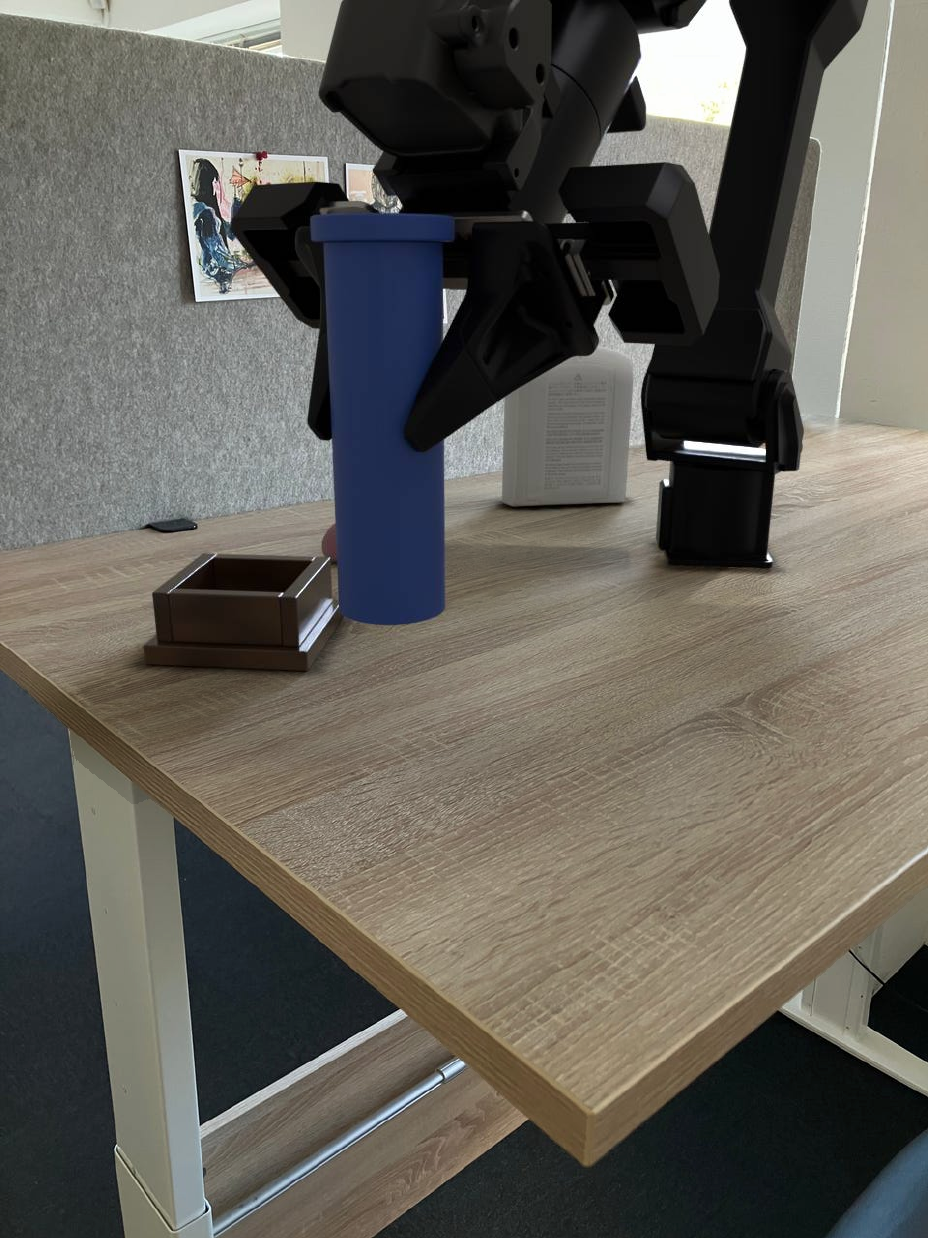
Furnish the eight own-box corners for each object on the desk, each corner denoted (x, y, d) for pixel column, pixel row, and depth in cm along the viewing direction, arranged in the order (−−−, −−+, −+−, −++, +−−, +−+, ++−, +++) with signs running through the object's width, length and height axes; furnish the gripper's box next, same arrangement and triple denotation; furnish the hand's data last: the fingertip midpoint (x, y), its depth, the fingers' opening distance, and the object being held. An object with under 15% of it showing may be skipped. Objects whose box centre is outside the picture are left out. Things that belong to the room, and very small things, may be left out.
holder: (344, 616, 56) (342, 554, 55) (307, 671, 48) (303, 601, 47) (202, 611, 57) (197, 550, 55) (144, 664, 49) (137, 595, 48)
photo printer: (615, 493, 85) (622, 340, 81) (634, 504, 81) (643, 344, 77) (495, 499, 83) (497, 342, 79) (509, 511, 79) (512, 346, 75)
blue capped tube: (462, 590, 41) (462, 218, 36) (447, 632, 36) (444, 212, 32) (343, 586, 41) (328, 219, 37) (314, 627, 37) (293, 213, 32)
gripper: (248, -43, 39) (30, 265, 34) (716, -146, 29) (506, 266, 24) (382, 191, 48) (225, 463, 43) (778, 173, 38) (633, 524, 33)
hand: (362, 438), depth 35 cm, fingers closed on blue capped tube, 4 cm apart
